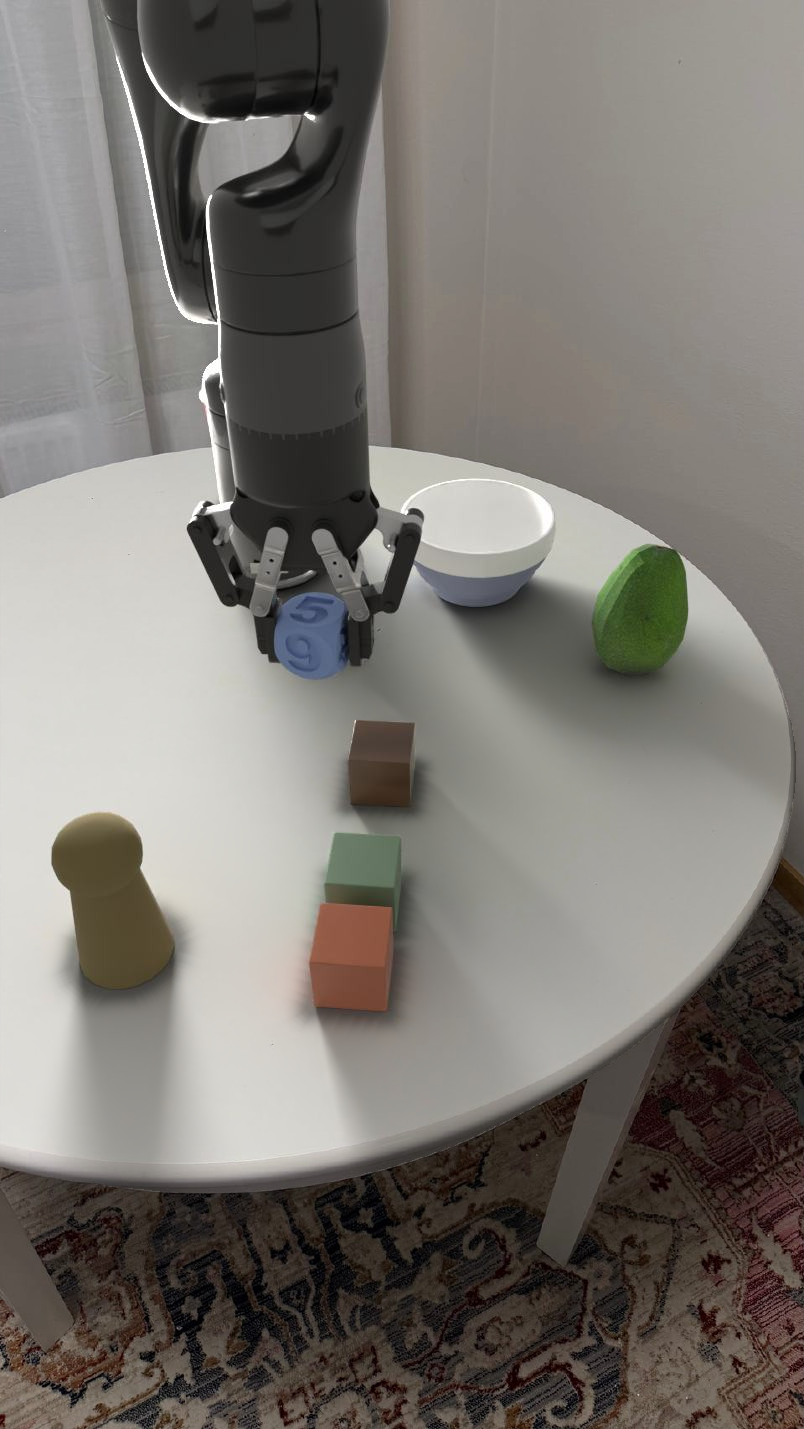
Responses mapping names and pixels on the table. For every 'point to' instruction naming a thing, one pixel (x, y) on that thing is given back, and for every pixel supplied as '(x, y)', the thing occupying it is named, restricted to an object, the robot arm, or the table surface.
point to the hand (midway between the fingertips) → (317, 656)
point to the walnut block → (382, 763)
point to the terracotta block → (352, 957)
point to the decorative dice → (313, 635)
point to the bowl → (481, 539)
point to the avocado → (642, 611)
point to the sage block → (365, 871)
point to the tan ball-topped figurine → (111, 901)
